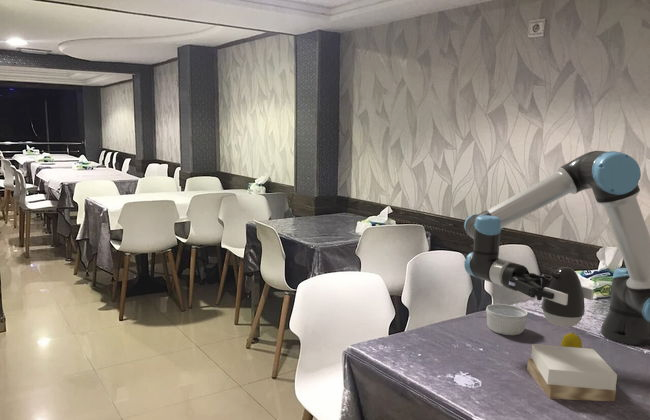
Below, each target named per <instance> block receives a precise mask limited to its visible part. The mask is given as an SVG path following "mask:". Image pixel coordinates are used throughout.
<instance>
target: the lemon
mask: <svg viewBox="0 0 650 420" xmlns="http://www.w3.org/2000/svg"><path fill="white" fill-rule="evenodd" d="M560 346H563V347H576V348H583V342H582V339H581V338H580V336H579V335H577V334H576V333H574V332H571V333H570V332H569V333H566V334H565V335H564V336H563V337H562V340H561V343H560Z"/></svg>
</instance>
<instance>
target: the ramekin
mask: <svg viewBox="0 0 650 420" xmlns="http://www.w3.org/2000/svg"><path fill="white" fill-rule="evenodd" d="M485 312H486V324H487V327H488V328H489V329H490V331H492V332H494V333H496V334H501V335H504V336H517V335H520V334H522V333H523V332H524V330H525V326H526V322H527V319H528V315H529V313H528V311H527V310H526V309H524V308H522V307H520V306H516V305H512V304H506V303H504V304H503V303H492V304H489V305H487V306H486V309H485Z"/></svg>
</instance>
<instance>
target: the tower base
mask: <svg viewBox="0 0 650 420" xmlns="http://www.w3.org/2000/svg"><path fill="white" fill-rule="evenodd" d="M526 370H527V372H528V373H529V374H530V376H531V377H532V378H533V379H534V381H535V382H536V383H537V385H539V387H540V388H541V389H542V391H543V392H544V393H545V395H547V397H548V398H549V399H550V400H573V401H575V400H576V401H596V402H597V401H598V402H601V401H602V402H616V393H617V389H616V390H606V389H594V388H583V387H571V386H560V385H548V384H547V383H546V381H545V380H544V378H543V376H542V375H541V373H540V371H539V370H538V368H537V366H536V365H535V363H534V362H533V360H532V358H531V357H530V358H527V367H526Z"/></svg>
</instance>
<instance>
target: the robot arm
mask: <svg viewBox="0 0 650 420" xmlns="http://www.w3.org/2000/svg"><path fill="white" fill-rule="evenodd" d="M641 173H642V172H641V168H640V166H639V163H638V162H637V160H635V158H634V157H632V156H631V155H629V154H626V153H623V152H620V151H602V150H593V151H589V152H585V153H584V154H582V155H580V156H578V157H576V158H574V159H573V160H571V161H569V162H567V163H565V164H563V165H562V166H559V167H558V168H557V171H556V172H555V173H554V174H551V175H549V176H547V177H546V178H544V179H542V180H541V181H539V182H537V183H535V184H533V185H531V186H529V187H528V188H526V189H523V190H522V191H519V192H518V193H516V194H515V195H513V196H510V197H509V198H506V199H505V200H503V201H501V202H500V203H498V204H495V205H494V206H492V207H490V208H488V209H487V210H484V211H482V212H480V213H478V214H476V213H475V214H471V215H469V216H468V217H467V218H466V219H465V221H464V224H463V228H464V230H465V233H466V235H468V236H469V238H471V239H472V240H473V249H472V250H473V251H472V252H470V253H468V254H467V255H466V257H465V258H466V259H465V260H464V264H463V265H464V271H466V273H467V274H469V276H473V277H475V278H476V279H479V280H483V281H486V282H489V283H493V284H495V285H498V286H499V288H506V289H509V290H512V291H515V292H520V293H522V294H524V295H526V296H528V297H530V298H533V299H534V298H536V300H537V301H542V300H543V298H545V299H548V300H551V301H554V302H557V303H560V304H563V305H567V301H568V294H565V293H562V292H559V291H556V290H553V289H550V288H546V287H547V285H548V283H549V281H550V279H551V277H552V276H551V275H550V274H545V273H539V274H536V273H533V272H529V270H528V268H527V267H526V266H525V265H523V264H519V263H516V262H513V261H509V260H505V259H502V258H499V255H500V244H501V235H502V234H501V231H502V229H504V228H505V227H507V226H509V225H511V224H513V223H515V222H516V221H518V220H521V219H522V218H524V217H526V216H528V215H530V214H532V213H533V212H536V211H538V210H540V209H542V208H543V207H545V206H547V205H549V204H551V203H554V202H555V201H557V200H560V199H561V198H563V197H565V196H567V195H569V194H572V195H576V194H578V193H579V192H582V191H585V190H588V189H591V190H592V192H593V193H592V194H593V196H594V199H595V201H596V203H597V204H599V205H602V206H603V207H604V210H605V211H606V214H607V215H606V216H607V217H608V220H609V223H610V225H611V229H612V231H613V234H614V237H615V240H616V243H617V245H618V248H619V250H620V254H621V256H622V260H623V262H624V264H625V267H618V268H616V269H615V270H614V271H613V275H612V278H611V280H612V281H611V290H610V300H609V310H608V313H607V315H606V316H605V318H604V320H603V321H602V322H603V323H602V324H601V326H600V327H601V329H600V333H601V334H602V336H604V337H605V338H607V339H609V340H612V341H615V342H618V343H622V344H625V345H632V346H650V233H649V230H648V226H647V225H646V221H645V219H644V216H643V214H642V213H643V212H642V210H641V207H640V204H639V201H638V199H637V197H638V195H639V193H640V192H641V188H640V185H639V183H640V182H639V181H640V180H641V176H642V175H641ZM581 286H582V290H583V295H584V299H587V300H589V301H592V300H594V293H595V289H594V288H590V287H587V286H583V285H581Z"/></svg>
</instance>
